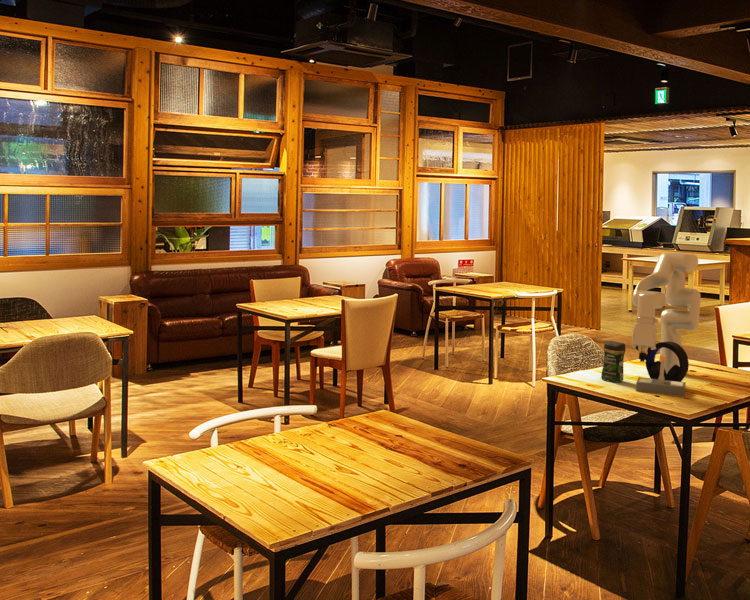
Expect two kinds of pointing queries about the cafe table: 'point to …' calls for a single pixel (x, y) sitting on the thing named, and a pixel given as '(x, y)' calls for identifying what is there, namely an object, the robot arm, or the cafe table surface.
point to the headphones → (676, 371)
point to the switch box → (660, 386)
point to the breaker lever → (662, 365)
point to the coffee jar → (613, 361)
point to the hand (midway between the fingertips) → (642, 361)
